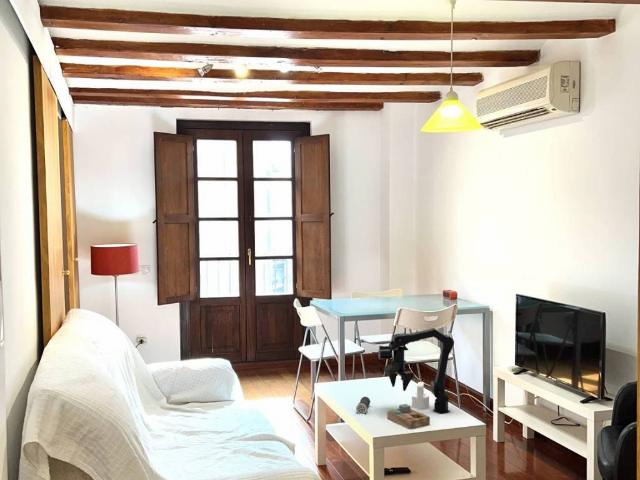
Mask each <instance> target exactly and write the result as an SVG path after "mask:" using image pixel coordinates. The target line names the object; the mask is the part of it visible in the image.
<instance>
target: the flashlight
mask: <svg viewBox="0 0 640 480" xmlns="http://www.w3.org/2000/svg"><path fill="white" fill-rule="evenodd" d="M370 405H371V399H370V398H369V397H368V396H363V397H361V399H360V400H359V402H358V404H357V405H356V406H355V407H356V408H355V410H356V412H357V414H359V415H364V414H365V413H366V412H367V410H368V407H369V406H370Z"/></svg>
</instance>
